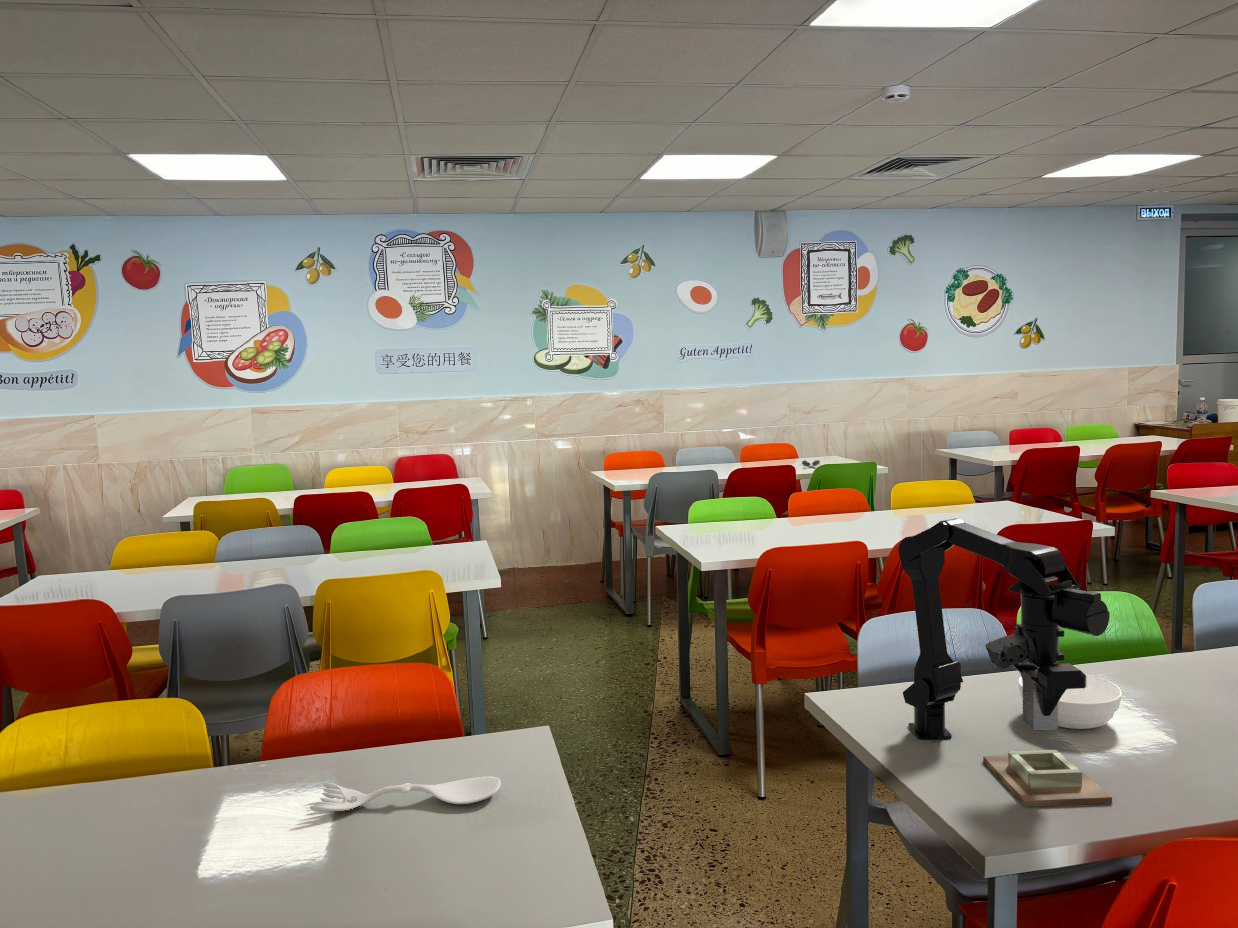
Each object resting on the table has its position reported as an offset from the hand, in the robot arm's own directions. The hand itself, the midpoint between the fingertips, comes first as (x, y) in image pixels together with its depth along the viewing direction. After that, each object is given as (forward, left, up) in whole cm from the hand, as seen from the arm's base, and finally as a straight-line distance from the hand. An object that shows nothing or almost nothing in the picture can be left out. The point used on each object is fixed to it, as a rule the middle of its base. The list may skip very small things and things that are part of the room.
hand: (1040, 710), depth 140 cm
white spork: (-2, -110, -13) cm, 111 cm away
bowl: (-24, +18, -13) cm, 32 cm away
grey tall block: (0, 0, -3) cm, 2 cm away
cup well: (0, +1, -13) cm, 13 cm away
